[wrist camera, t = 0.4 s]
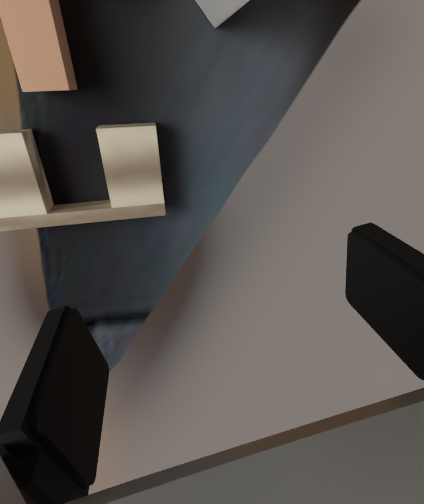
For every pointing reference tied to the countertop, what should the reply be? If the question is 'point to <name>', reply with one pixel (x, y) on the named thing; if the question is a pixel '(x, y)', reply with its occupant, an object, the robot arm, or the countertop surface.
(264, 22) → the countertop surface
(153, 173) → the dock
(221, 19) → the milk carton
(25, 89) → the t block
